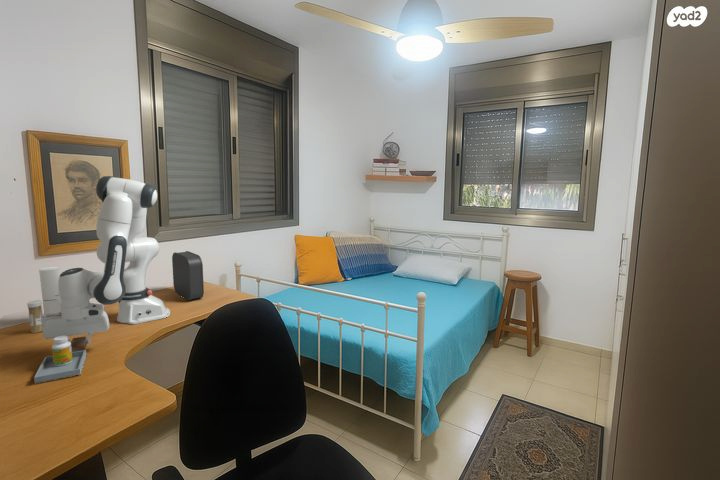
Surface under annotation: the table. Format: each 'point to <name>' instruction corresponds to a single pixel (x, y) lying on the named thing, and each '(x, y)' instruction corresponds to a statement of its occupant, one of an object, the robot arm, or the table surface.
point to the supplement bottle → (61, 351)
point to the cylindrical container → (50, 289)
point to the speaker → (188, 275)
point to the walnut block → (78, 344)
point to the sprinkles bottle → (35, 316)
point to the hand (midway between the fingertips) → (79, 344)
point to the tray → (60, 368)
